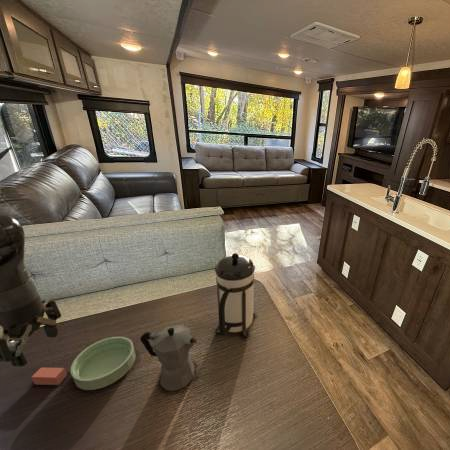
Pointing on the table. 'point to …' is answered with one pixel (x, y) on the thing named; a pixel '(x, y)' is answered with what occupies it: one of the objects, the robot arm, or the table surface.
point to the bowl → (103, 363)
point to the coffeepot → (172, 355)
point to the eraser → (49, 376)
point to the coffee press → (235, 293)
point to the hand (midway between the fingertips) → (38, 349)
